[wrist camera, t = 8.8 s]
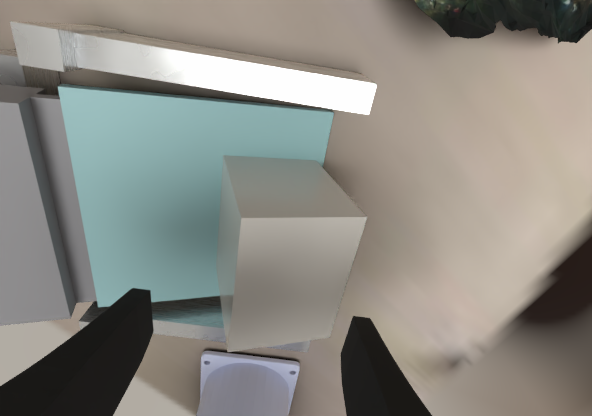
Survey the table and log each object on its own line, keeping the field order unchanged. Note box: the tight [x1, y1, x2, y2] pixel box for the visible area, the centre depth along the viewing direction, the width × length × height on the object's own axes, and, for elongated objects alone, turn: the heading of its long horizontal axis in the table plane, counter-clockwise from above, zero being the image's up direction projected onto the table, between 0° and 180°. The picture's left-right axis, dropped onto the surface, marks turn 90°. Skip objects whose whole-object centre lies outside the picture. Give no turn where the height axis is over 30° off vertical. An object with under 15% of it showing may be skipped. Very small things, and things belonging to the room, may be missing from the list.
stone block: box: [216, 155, 367, 352], centre depth 16 cm, size 7×5×6 cm
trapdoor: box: [0, 84, 334, 325], centre depth 17 cm, size 12×18×3 cm, turn 81°
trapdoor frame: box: [0, 21, 377, 352], centre depth 17 cm, size 16×17×5 cm
